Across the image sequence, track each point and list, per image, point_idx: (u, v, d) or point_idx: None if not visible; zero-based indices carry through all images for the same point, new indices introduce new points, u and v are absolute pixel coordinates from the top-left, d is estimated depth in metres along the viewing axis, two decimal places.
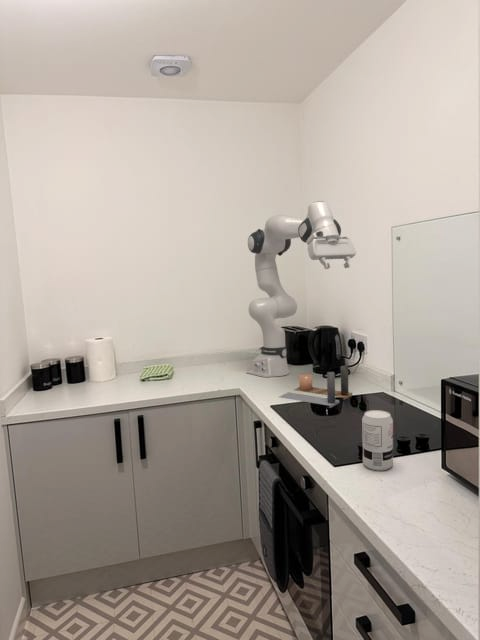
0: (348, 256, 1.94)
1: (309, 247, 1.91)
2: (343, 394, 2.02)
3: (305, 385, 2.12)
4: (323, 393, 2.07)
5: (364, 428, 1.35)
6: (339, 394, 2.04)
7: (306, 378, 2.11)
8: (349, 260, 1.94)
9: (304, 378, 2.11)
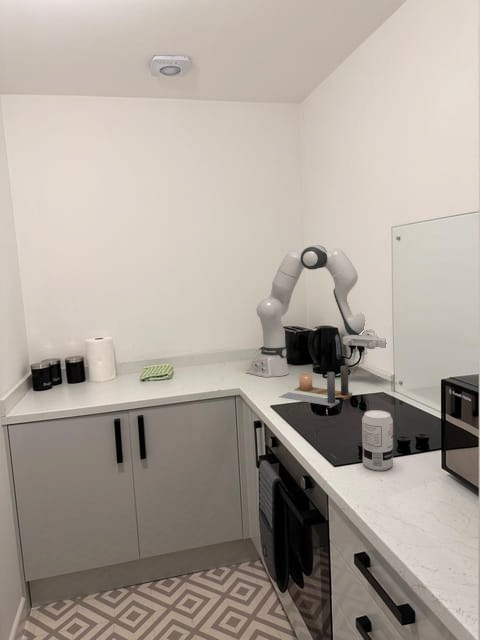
0: None
1: None
2: (343, 394, 2.02)
3: (305, 385, 2.12)
4: (323, 393, 2.07)
5: (364, 428, 1.35)
6: (339, 394, 2.04)
7: (306, 378, 2.11)
8: None
9: (304, 378, 2.11)
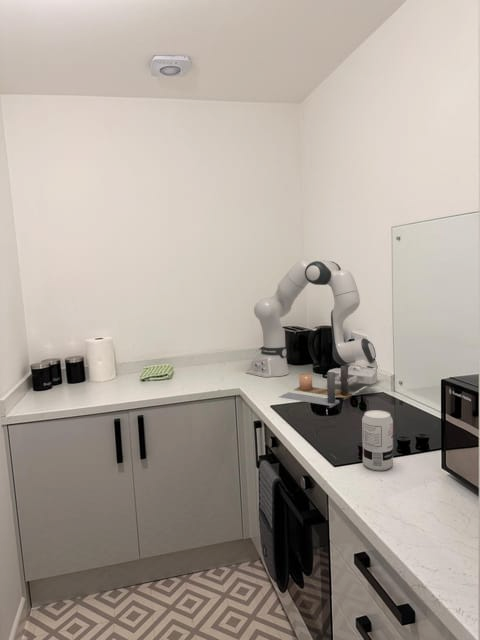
0: None
1: (375, 376, 2.03)
2: (343, 394, 2.02)
3: (305, 385, 2.12)
4: (323, 393, 2.07)
5: (364, 428, 1.35)
6: (339, 394, 2.04)
7: (306, 378, 2.11)
8: None
9: (304, 378, 2.11)
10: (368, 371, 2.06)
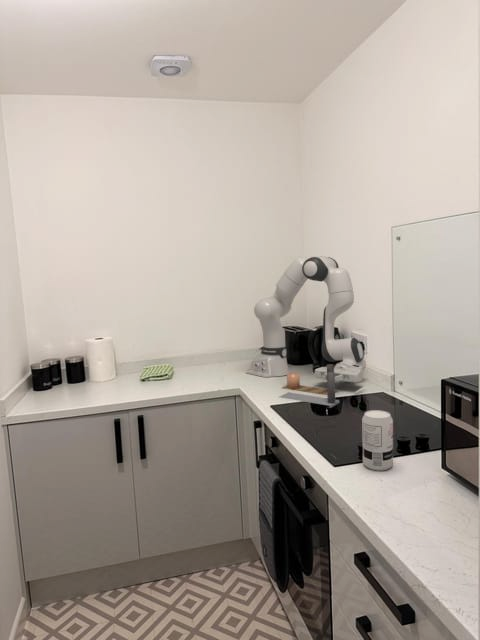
0: None
1: (360, 375, 2.07)
2: None
3: (292, 383, 2.16)
4: (310, 391, 2.10)
5: (364, 428, 1.35)
6: (325, 392, 2.08)
7: (293, 376, 2.15)
8: None
9: (291, 376, 2.15)
10: (354, 370, 2.10)
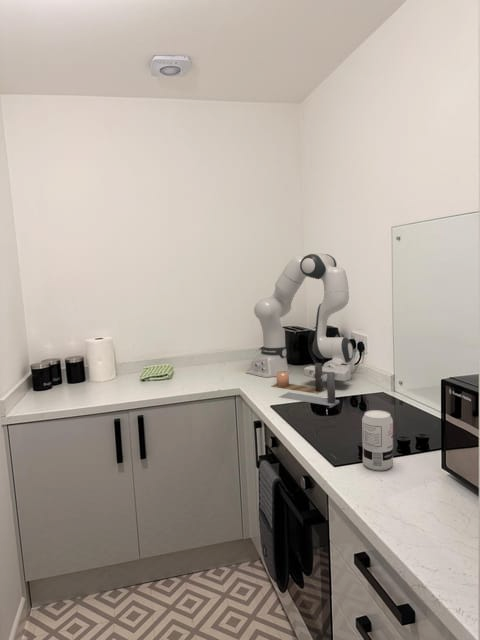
0: None
1: (348, 373, 2.11)
2: (317, 390, 2.09)
3: (281, 382, 2.19)
4: (298, 389, 2.14)
5: (364, 428, 1.35)
6: (314, 390, 2.11)
7: (283, 375, 2.18)
8: None
9: (281, 375, 2.19)
10: (342, 368, 2.13)
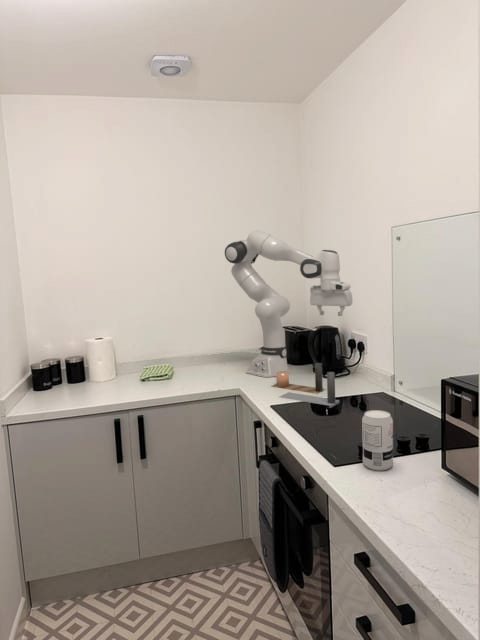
0: None
1: (349, 294, 2.18)
2: (317, 390, 2.09)
3: (281, 382, 2.19)
4: (298, 389, 2.14)
5: (364, 428, 1.35)
6: (314, 390, 2.11)
7: (282, 375, 2.18)
8: None
9: (281, 375, 2.19)
10: (341, 293, 2.19)
